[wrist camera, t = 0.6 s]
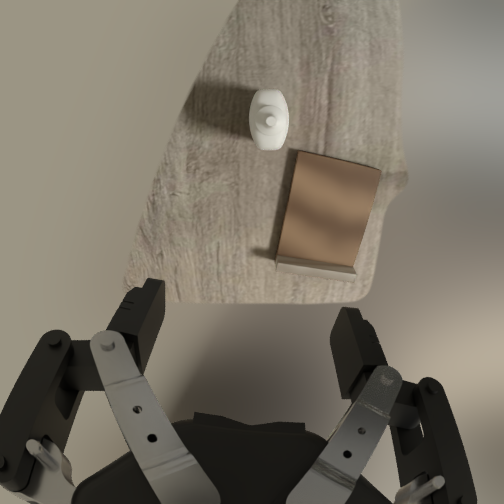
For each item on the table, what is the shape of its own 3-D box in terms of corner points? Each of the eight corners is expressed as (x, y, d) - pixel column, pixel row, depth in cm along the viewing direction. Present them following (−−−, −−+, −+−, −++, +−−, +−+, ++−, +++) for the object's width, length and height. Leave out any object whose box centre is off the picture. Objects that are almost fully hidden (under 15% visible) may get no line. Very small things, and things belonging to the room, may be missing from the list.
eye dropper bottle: (236, 130, 31) (225, 140, 21) (261, 87, 29) (262, 74, 18) (272, 148, 32) (278, 168, 21) (296, 106, 30) (317, 103, 19)
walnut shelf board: (297, 150, 32) (301, 154, 29) (378, 169, 33) (388, 174, 30) (274, 260, 38) (275, 272, 36) (347, 271, 39) (353, 283, 36)
